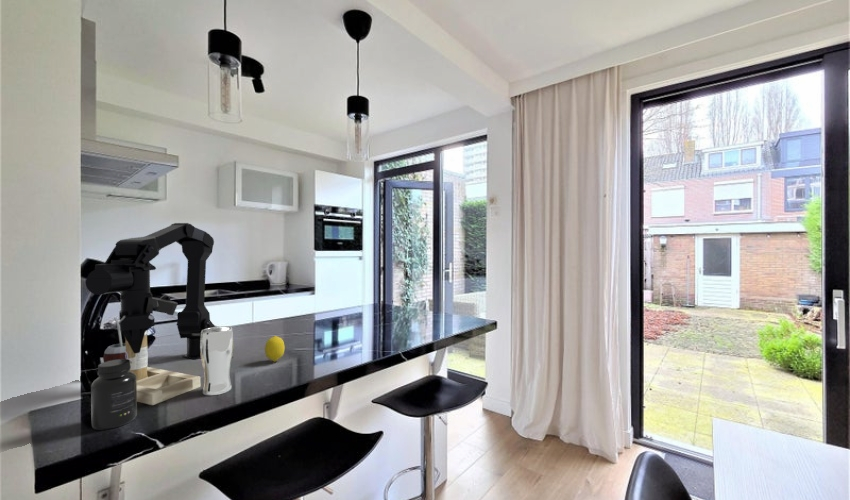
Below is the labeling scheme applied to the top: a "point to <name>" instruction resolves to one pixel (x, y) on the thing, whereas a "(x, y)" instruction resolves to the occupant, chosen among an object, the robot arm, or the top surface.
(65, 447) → the top surface
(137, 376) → the sprinkles bottle
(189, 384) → the beige wooden flat tray
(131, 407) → the supplement bottle
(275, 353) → the lemon
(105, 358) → the mate gourd
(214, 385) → the beer glass
